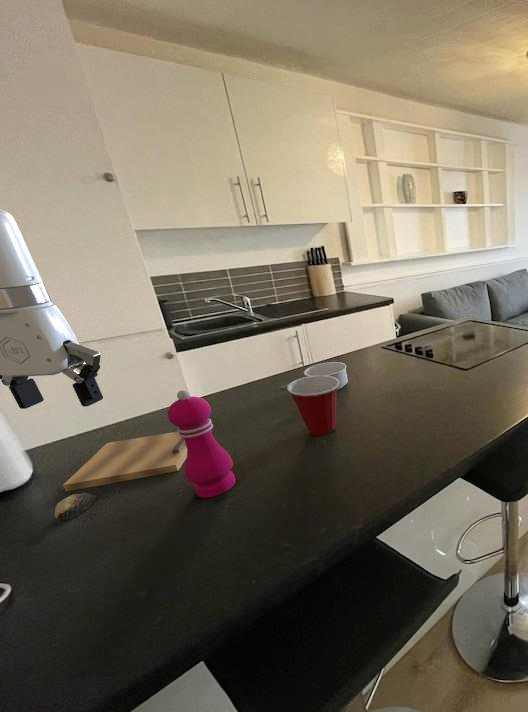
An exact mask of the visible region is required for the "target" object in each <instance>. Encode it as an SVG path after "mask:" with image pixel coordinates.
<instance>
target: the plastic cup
mask: <svg viewBox="0 0 528 712" xmlns="http://www.w3.org/2000/svg"><path fill="white" fill-rule="evenodd" d="M339 382H340V381H339V380H338V379H337V378H334V377H331V376H323V375H322V376H309V377H306V376H305V377H301V378H298V379H294V380H293V381H292V382H290V383H288V384H289V385H288V387H287V391H288V392H289V394H290V395H291V396H292V398H293V401H294V402H295V404H296V407H297V409H298V411H299V414H300V416H301V418H302V421H303V422H304V424H305V426H306V428H307V431H308V432H309V433H310V435H312V436H316V435H317V436H318V437H319V436H325V435H328V434H330V433H332V432H333V431H334V430H335V429H336V426H337V417H336V415H337V393H338V390H337V387H338V386H339ZM327 433H328V434H327ZM324 434H325V435H324Z"/></svg>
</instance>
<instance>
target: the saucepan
mask: <svg viewBox="0 0 528 712" xmlns="http://www.w3.org/2000/svg"><path fill="white" fill-rule="evenodd" d="M303 374H304V375H305V377H309V376H322V375H323V376H331V377H334V378H337V379H338V380H339V381H340V382H339V386H338V387H337V391H339V390H340V389H342V388H343V387H344V386H345V385H347V384H348V382H349V379H348V375H347V364H346V363H344V362H339V361H329V362H323V363H317V364H314V365H312V366H309V367H308V368H306V369H305V370H304V371H303ZM289 384H290V383H286V384H284V385H282V386H280V387H279V390H280V391H284V390H286V389H287V387H288V385H289ZM287 390H288V389H287Z"/></svg>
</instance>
